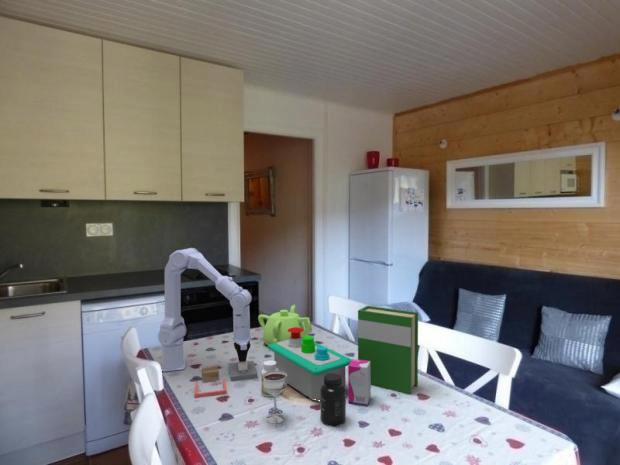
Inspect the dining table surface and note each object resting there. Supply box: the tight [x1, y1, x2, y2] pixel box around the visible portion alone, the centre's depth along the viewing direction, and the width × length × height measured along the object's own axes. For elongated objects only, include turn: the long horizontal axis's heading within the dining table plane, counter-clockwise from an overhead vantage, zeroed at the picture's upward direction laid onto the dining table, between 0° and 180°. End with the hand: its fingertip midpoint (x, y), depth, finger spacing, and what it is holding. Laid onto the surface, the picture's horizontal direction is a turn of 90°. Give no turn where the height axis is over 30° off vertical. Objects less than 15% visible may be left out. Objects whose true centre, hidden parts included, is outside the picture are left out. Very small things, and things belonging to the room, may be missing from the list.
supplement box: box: [347, 358, 372, 407], centre depth 116 cm, size 6×6×12 cm
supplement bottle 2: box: [319, 373, 347, 427], centre depth 105 cm, size 7×7×12 cm
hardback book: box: [357, 305, 419, 396], centre depth 127 cm, size 18×7×24 cm, turn 58°
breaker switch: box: [237, 360, 248, 371], centre depth 135 cm, size 2×3×2 cm
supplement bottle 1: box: [260, 360, 279, 398], centre depth 121 cm, size 5×5×10 cm
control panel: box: [267, 327, 353, 401], centre depth 128 cm, size 15×16×30 cm
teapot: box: [257, 304, 313, 346], centre depth 167 cm, size 19×20×14 cm
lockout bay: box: [194, 378, 228, 399], centre depth 124 cm, size 9×10×1 cm
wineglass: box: [261, 370, 288, 424], centre depth 106 cm, size 7×7×12 cm
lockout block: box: [201, 365, 220, 384], centre depth 132 cm, size 5×5×4 cm
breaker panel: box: [228, 360, 259, 382], centre depth 137 cm, size 12×9×2 cm
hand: (242, 363), depth 137 cm, fingers closed
